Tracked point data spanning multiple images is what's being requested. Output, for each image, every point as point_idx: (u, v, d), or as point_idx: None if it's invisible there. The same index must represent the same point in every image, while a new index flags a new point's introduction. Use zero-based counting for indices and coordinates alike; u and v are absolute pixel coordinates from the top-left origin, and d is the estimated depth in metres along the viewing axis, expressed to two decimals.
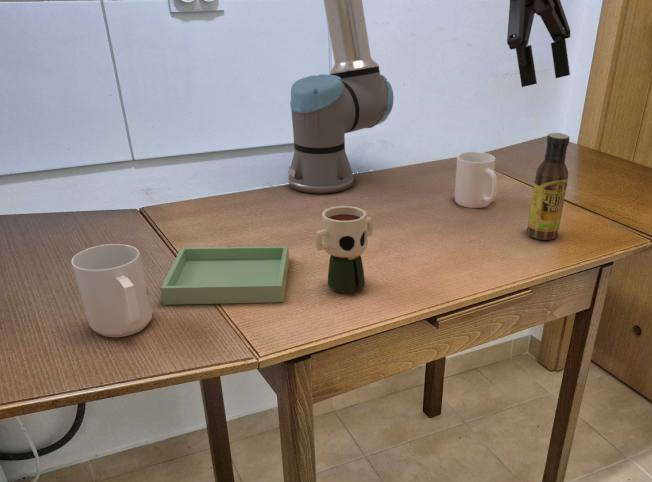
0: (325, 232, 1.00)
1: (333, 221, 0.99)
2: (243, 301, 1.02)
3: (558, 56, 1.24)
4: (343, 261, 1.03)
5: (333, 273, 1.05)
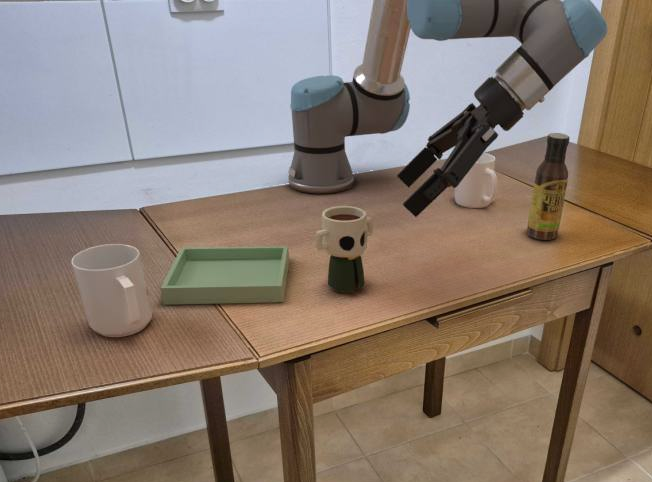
0: (325, 232, 1.00)
1: (333, 221, 0.99)
2: (243, 301, 1.02)
3: (418, 166, 1.05)
4: (343, 261, 1.03)
5: (333, 273, 1.05)
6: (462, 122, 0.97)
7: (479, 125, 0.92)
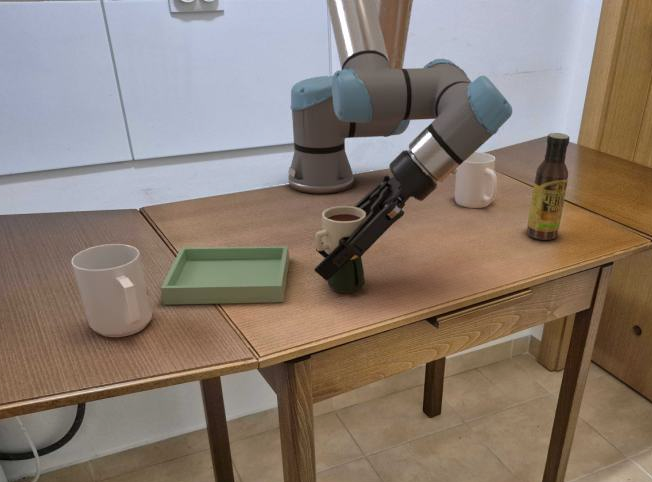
0: (325, 233, 1.00)
1: (333, 222, 0.99)
2: (243, 301, 1.02)
3: None
4: None
5: None
6: (380, 192, 1.01)
7: (392, 197, 0.96)
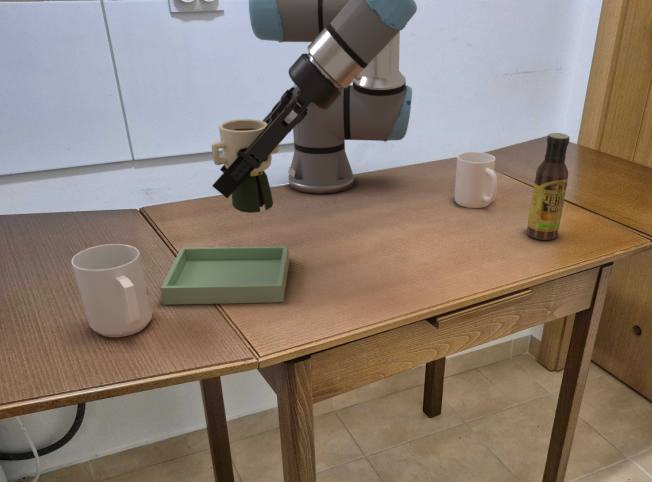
0: (222, 144, 0.93)
1: (229, 131, 0.92)
2: (243, 301, 1.02)
3: None
4: None
5: (236, 192, 0.98)
6: None
7: (290, 103, 0.90)
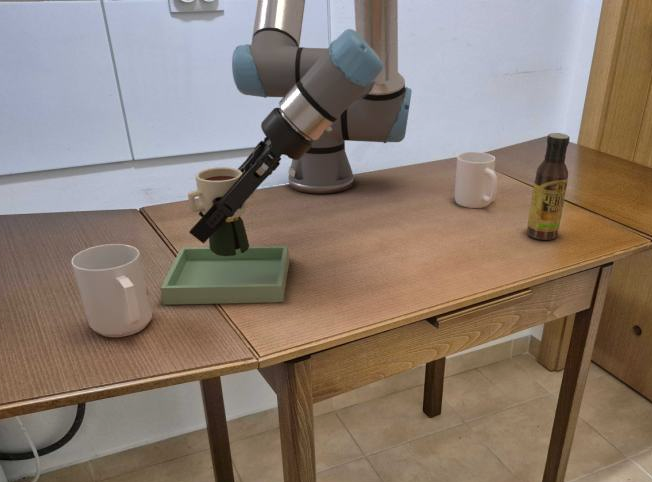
0: (198, 193, 0.98)
1: (205, 181, 0.96)
2: (243, 301, 1.02)
3: None
4: None
5: (212, 236, 1.02)
6: None
7: (262, 155, 0.94)
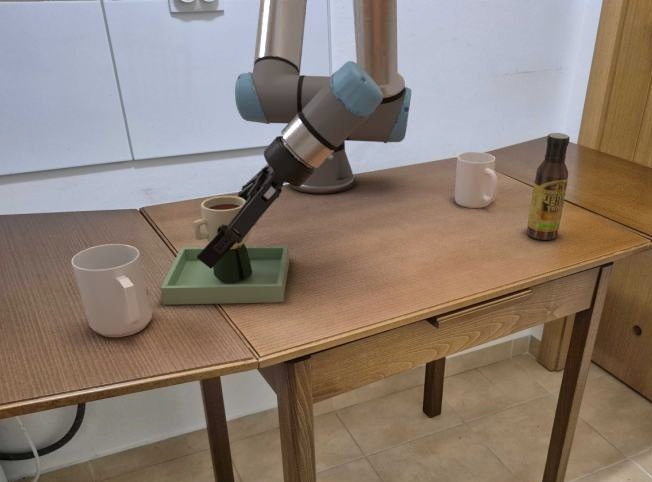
0: (203, 221, 1.00)
1: (209, 210, 0.99)
2: (243, 301, 1.02)
3: None
4: None
5: (216, 263, 1.05)
6: None
7: (265, 183, 0.96)
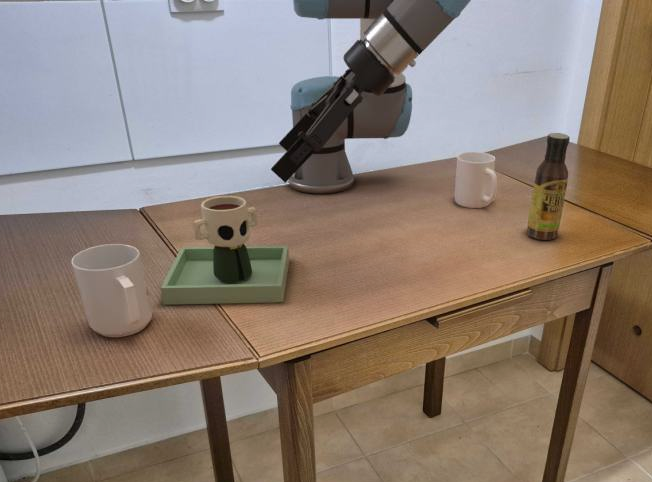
0: (203, 221, 1.00)
1: (210, 210, 0.99)
2: (243, 301, 1.02)
3: (300, 133, 1.03)
4: (224, 251, 1.03)
5: (216, 263, 1.05)
6: (335, 87, 0.95)
7: (346, 88, 0.90)
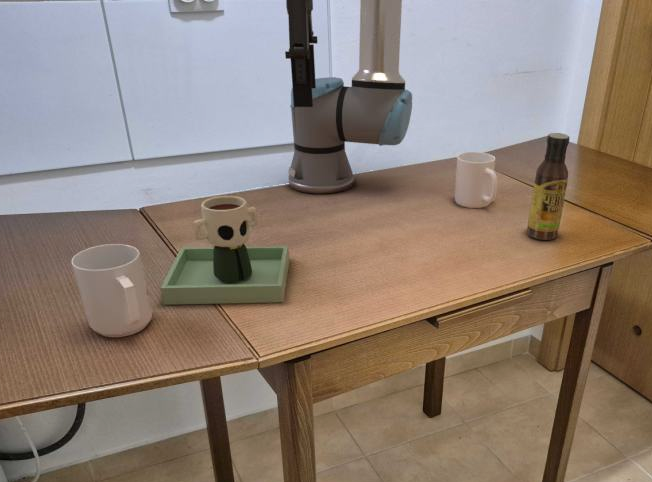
0: (203, 221, 1.00)
1: (210, 210, 0.99)
2: (243, 301, 1.02)
3: None
4: (224, 251, 1.03)
5: (216, 263, 1.05)
6: None
7: None
